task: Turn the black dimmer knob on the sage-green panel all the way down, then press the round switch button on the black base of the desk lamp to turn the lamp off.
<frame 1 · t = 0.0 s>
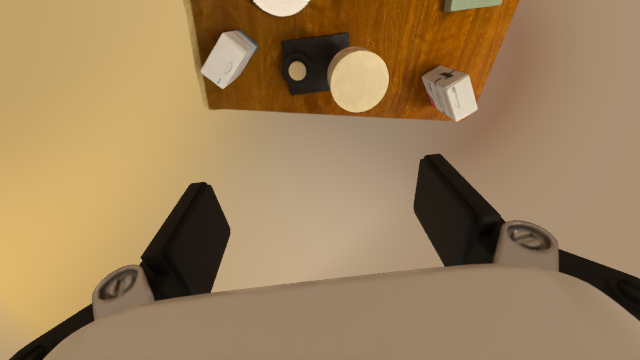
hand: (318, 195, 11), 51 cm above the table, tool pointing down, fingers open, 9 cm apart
ink box: (435, 85, 59), on the table
lamp: (350, 72, 45), on the lamp base, point 12 cm above the table
lamp base: (317, 64, 55), on the table
ink box 2: (238, 53, 53), on the table
lamp button: (297, 70, 52), point 4 cm above the table, slide at 0.1 cm
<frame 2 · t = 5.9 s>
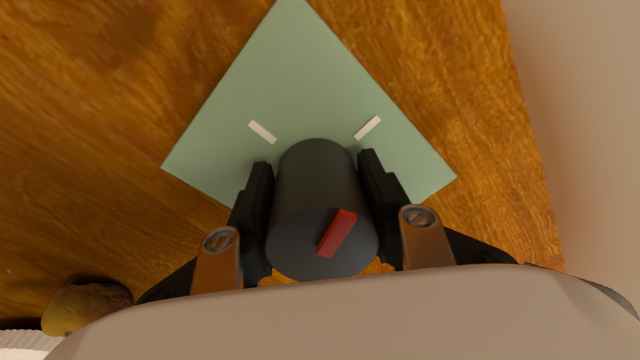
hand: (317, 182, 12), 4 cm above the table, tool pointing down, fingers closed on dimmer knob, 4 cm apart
plastic lid: (66, 345, 28), on the table
dimmer knob: (319, 206, 10), point 6 cm above the table, hinge at 110.1°, touching gripper
dimmer panel: (314, 147, 15), on the table
fruit: (99, 301, 23), on the table
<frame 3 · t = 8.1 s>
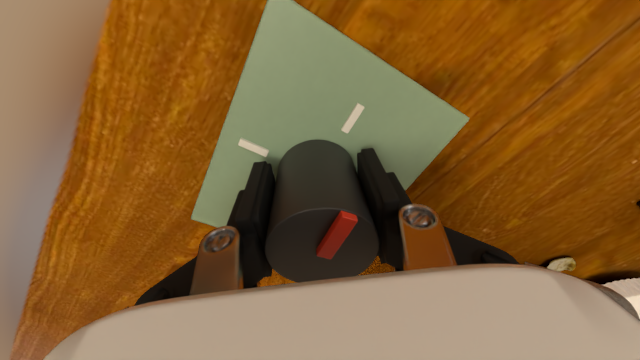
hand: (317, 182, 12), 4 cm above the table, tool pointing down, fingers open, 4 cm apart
plastic lid: (578, 305, 28), on the table
dimmer knob: (319, 207, 10), point 6 cm above the table, hinge at 4.9°
dimmer panel: (314, 148, 15), on the table
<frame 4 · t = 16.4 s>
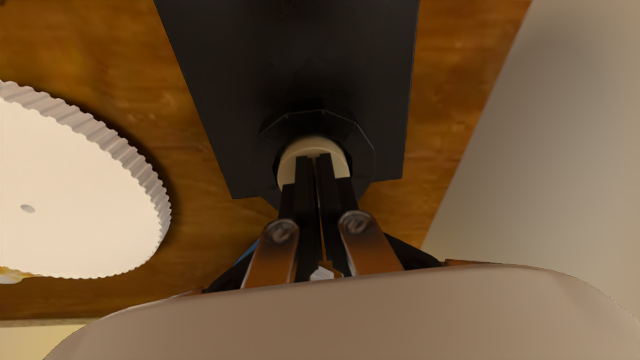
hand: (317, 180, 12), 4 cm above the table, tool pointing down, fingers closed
lamp base: (300, 67, 13), on the table
plastic lid: (64, 181, 16), on the table
ink box 2: (284, 267, 23), on the table
fish: (4, 284, 22), on the table
lamp button: (313, 170, 13), point 3 cm above the table, slide at -0.5 cm, touching gripper
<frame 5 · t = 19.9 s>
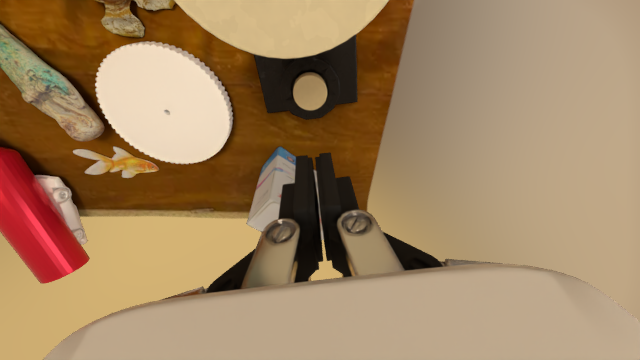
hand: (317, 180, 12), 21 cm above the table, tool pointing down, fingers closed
bottle: (66, 270, 36), point 7 cm above the table, touching toy car
lamp base: (304, 40, 27), on the table
plastic lid: (176, 104, 30), on the table
toy car: (44, 218, 34), point 4 cm above the table, touching bottle
ink box 2: (293, 172, 37), on the table
fish: (123, 178, 36), on the table
figurine: (47, 73, 28), on the table
lamp button: (310, 91, 26), point 4 cm above the table, slide at 0.1 cm
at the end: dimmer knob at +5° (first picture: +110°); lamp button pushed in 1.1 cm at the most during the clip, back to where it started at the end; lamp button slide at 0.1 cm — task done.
